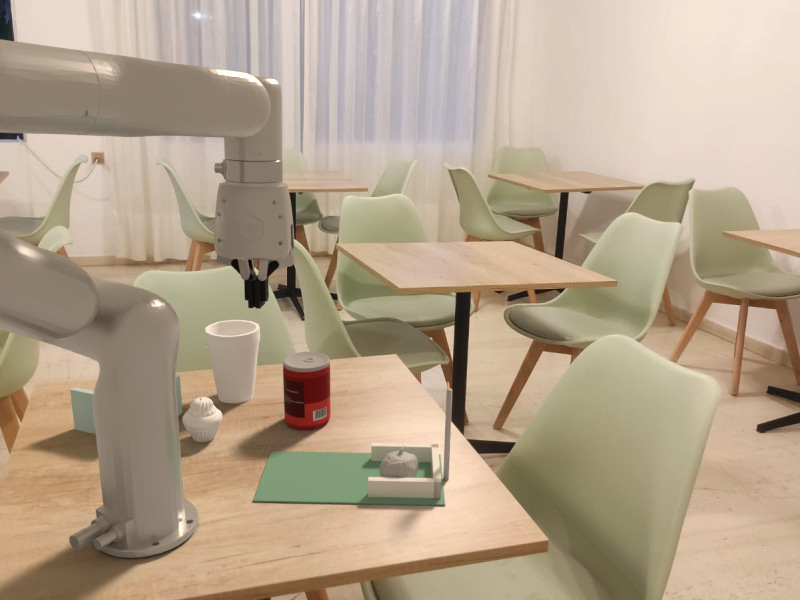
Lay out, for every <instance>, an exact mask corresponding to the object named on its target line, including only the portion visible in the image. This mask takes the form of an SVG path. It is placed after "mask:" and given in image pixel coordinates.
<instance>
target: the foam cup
mask: <svg viewBox="0 0 800 600" xmlns="http://www.w3.org/2000/svg"><path fill="white" fill-rule="evenodd" d="M204 331H205V332H204V333H205V334H204V335H205V343H206V346H207V349H208V353H209V358H210V362H211V368H212V372H213V378H214V382H215V388H216V394H217V398H218V401H220V402H221V403H225V404H240V403H245V402H248V401H250V400H252V399H253V398H254V394H255V386H256V376H257V366H258V355H259V348H260V347H259V345H260V341H261V328H260V324H259V323H257V322H254V321H251V320H245V319H244V320H243V319H228V320H221V321H217V322H213V323H211V324H209V325H207V326H206V327H205V328H204Z"/></svg>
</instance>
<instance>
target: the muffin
mask: <svg viewBox="0 0 800 600" xmlns="http://www.w3.org/2000/svg"><path fill="white" fill-rule="evenodd" d="M223 418H224V417H223V413H222V411H221V410H220V409H218V408H217V407H216V406H215V405H214V402H213V400H212V399H210V398H209V397H205V396H204V397H203V396H201V397H200V396H199V397H197V398H195V399H192V401H191V402H190V403H189V407H188V410H187V411H185V412H184V414H183V416H182V420H181V421H182V424H183V426H184V428H185V430H186V431H187V433H188V434H189V436H190V437H191V438H192V439H193V441H194V442H196V443H208V442H210V441H213V440H214V439H215V437H216V435H217V433H218V431H219V429H220V427H221V425H222V424H221V423H222V421H223Z"/></svg>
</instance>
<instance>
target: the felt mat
mask: <svg viewBox="0 0 800 600" xmlns="http://www.w3.org/2000/svg"><path fill="white" fill-rule="evenodd" d="M441 457H442V456H441V453H439V461H440V472H441V498H401V497H368V477H381V476H380V473H379V469H380V464H381V462H382V461H371V452H337V451H336V452H335V451H333V452H332V451H329V452H328V451H290V450H289V451H284V450H283V451H282V450H271V451H270V454H269V457H268V459H267V462H266V465H265V468H264V469H263V473H262V476H261V478H260V481H259V483H258V487H257V488H256V491H255V494H254V497H253V501H252V502H253V503H290V504H291V503H293V504H294V503H295V504H297V503H298V504H343V505H345V504H347V505H349V504H350V505H353V504H354V505H387V506H389V505H391V506H392V505H393V506H394V505H395V506H396V505H397V506H398V505H399V506H400V505H402V506H436V507H437V506H441V507H443V506H446V501H445V491H444V480H443V469H442V468H443V467H442V458H441ZM415 478H432V468H431V462H418V469H417V473H416V475H415Z"/></svg>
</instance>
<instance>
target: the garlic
mask: <svg viewBox="0 0 800 600" xmlns="http://www.w3.org/2000/svg"><path fill="white" fill-rule="evenodd" d="M404 449H405V446H404V445H403V446H402V447H401V449H400V451H394V452H391V453H388V454H386V455H385V457H384V459H383V460H382V462H381V464H380V469H379V473H380V476H381V477H399V478H415V475H416V473H417V469H418V459H417V457H416V456H415V455H413V454H410V453H407V452H404Z"/></svg>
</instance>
